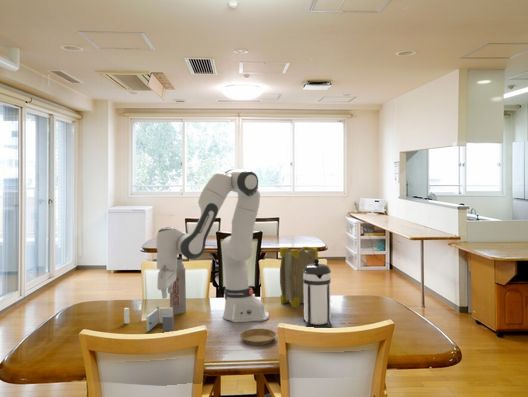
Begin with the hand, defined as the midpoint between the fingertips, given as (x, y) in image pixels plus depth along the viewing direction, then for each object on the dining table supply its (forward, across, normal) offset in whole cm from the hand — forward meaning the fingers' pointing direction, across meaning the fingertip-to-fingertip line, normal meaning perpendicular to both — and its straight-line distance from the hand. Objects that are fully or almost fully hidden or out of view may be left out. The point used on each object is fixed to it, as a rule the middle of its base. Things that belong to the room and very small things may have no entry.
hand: (167, 295), depth 187 cm
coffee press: (+16, +9, -66) cm, 69 cm away
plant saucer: (+16, -12, -40) cm, 45 cm away
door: (+16, +6, +8) cm, 18 cm away
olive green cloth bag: (+16, +44, -61) cm, 77 cm away
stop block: (+16, 0, 0) cm, 16 cm away
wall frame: (+16, +12, +12) cm, 23 cm away
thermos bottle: (+16, +29, +2) cm, 33 cm away
